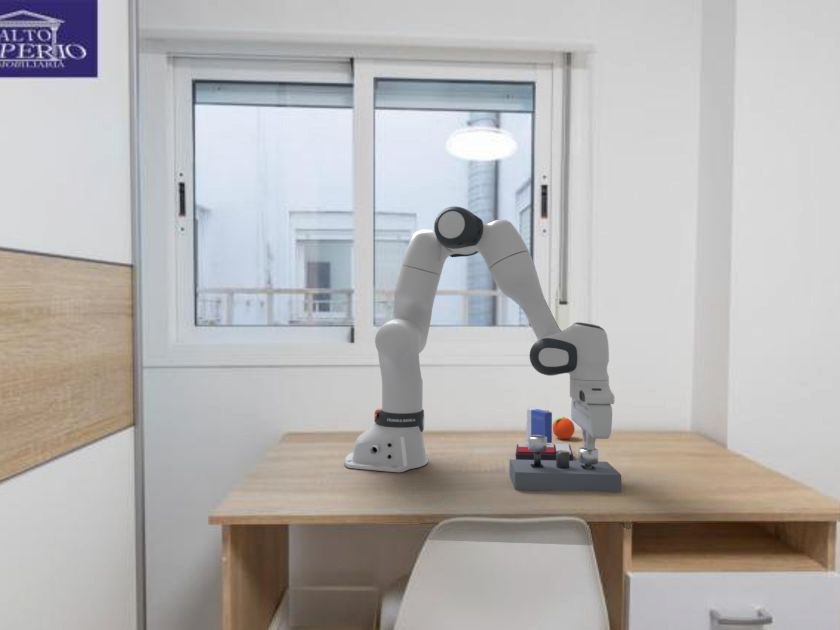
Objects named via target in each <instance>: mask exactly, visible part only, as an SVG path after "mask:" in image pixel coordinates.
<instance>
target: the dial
mask: <svg viewBox="0 0 840 630" xmlns="http://www.w3.org/2000/svg"><path fill="white" fill-rule="evenodd" d="M556 467H558V468H562V469H568V468H569V451H563V450H559V451H556Z"/></svg>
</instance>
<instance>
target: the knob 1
mask: <svg viewBox="0 0 840 630" xmlns="http://www.w3.org/2000/svg"><path fill="white" fill-rule="evenodd" d="M528 449H529V450H530V451H534V466H536V467H540V466H541V452H545V451H547V437H546V436H543V435H529V436H528Z"/></svg>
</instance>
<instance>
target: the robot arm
mask: <svg viewBox="0 0 840 630" xmlns="http://www.w3.org/2000/svg"><path fill="white" fill-rule="evenodd" d="M478 253H479V254H480V255H481V257H482V258H483V260H484V262H485V264H486V266H487V269H488V272H489V273H490V276H491V277H492V279H493V281H494V283H495V284H496V286H497V287H498V289H499V290H500V292H501V293H502V294H504V295H505V296H506V297H507V298H509V299H510V300H512V301H513V302H515V304H517V305H518V306H519V307H520V308H521V310H522V311H523V313H524V314H525V317H526V318H527V321H528V322H529V324H530V327H531V329H532V330H533V332H534V335H535V338H536V340H537V341H535V343H533V345H532V346H531V348H530V350H529V351H530V352H529V361H530V364H531V366H532V367H533V368H534V370H535V371H536V372H538V373H540V374H542V375H543V376H549V377H550V376H558V375H562V374H568V375H569V397H570V398H571V410H570V412H571V413H570V416H571V421H572V422H573V423H575V424H576V425H577V426H578V427H580V428H581V434H582V439H583V447H586V448H587V449H588V450H594V449H595V448H596V441H597V440H604V439H605V440H609V439H610V437H611V435H612V425H613V408H612V405H614V404H615V395H614V393H613V392H612V390H611V387H610V381H609V380H610V376H609V374H608V366H609V361H610V352H609V351H610V349H609V338H608V334H607V332H606V330H605V329H604V328H603V327H601V326H599V325H596V324H593V323H588V322H587V323H586V322H581V321H580V322H574V323H572V324H571V325H570V326H568V327H566V328H565V329H563V330H561V328H560V327H559V325H558V323H557V321H556V319H555V318H554V315H553V313H552V311H551V309H550V307H549V305H548V303H547V301H546V299H545V296H544V293H543V290H542V286H541V283H540V279H539V276H538V272H537V269H536V266H535V262H534V260H533V258H532V255H531V253H530V251H529V249H528V247H527V245H526V243H525V241H524V239H523V238H522V236H521V234H520V233H519V232H518V230H517V228H516V227H515V225H513V224H512V222H511V221H509V220H506V219H495V220H493V221H491V222H488V223H484V222H483V219H482V218H481V217H478V216H477V215H476V214H474V213H473V212H471V211H470V210H468V209H466V208H464V207H461V206H455V205H454V206H449V207H446V208H444V209H442V210H441V211H440V212H439V213H438V214H437V216H436V217H435V220H434V225H433V230H431V229H421V230H418V231H416V232H415V233H414V234H413V235H412V237H411V239H410V241H409V243H408V245H407V248H406V250H405V252H404V256H403V259H402V262H401V265H400V269H399V273H398V276H397V277H398V278H397V280H396V281H397V282H396V284H395V289H394V293H393V297H394V298H393V299H394V301H393V311H392V317H391V320H388V321H386V322H385V323H384V324H382V325H381V326H380V327H379V329H378V331H377V332H376V335H375V338H374V344H375V347H376V351H377V355H378V363H379V369H380V375H381V388H382V389H381V400H382V401H381V408H380V407H378V408H376V409H375V410H374V424H372V425H371V426H370V427H368V428H367V429H366V430H364V431H363V432H362V433H360V435H358V437H357V438H356V439H355V443H354V445H353V451H352V452H350V453H348V454H347V455H346V456H345V458H344V466H345V467H346V468H347V469H356V470H368V471H379V472H389V473H403V472H406V471H408V470H412V469H417V468H421V467H423V466H425V465H427V464H428V462H429V460H428V456H427V452H426V447H425V439H424V431H425V410H424V409H423V394H424V393H423V379H422V372H421V365H420V354H421V353H422V351H423V350H424V349H425V347H426V345H427V340H428V335H429V331H430V325H431V320H432V314H433V308H434V307H433V306H434V303H435V298H436V294H437V291H438V288H439V287H438V286H439V282H440V280H441V276H442V272H443V269H444V264H445V262H446V260H447V258H449V257H450V258H459V257H469V256H474V255H477V254H478Z"/></svg>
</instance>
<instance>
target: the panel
mask: <svg viewBox="0 0 840 630" xmlns="http://www.w3.org/2000/svg"><path fill="white" fill-rule="evenodd" d="M509 478H510V481H511V483H512V485H513V487H514V490H518V491H519V490H520V491H524V490H525V491H550V490H556V491H557V490H558V491H557V492H559V491H560V492H591V493H593V492H594V493H596V492H597V493H622V474H621V473H620V472H619V471H618V470H617V469H616V468H614V467H613V466H612V465H611V464H610V463H609V462H608V461H599V460H598V464H595V465H592V469H585V464H583V463H580V462H579V460H573V461H569V468H568V469H562V468H558V467H556V460H541V466H540V467H536V466H534V460H516V459H509ZM556 491H555V492H556Z"/></svg>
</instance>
